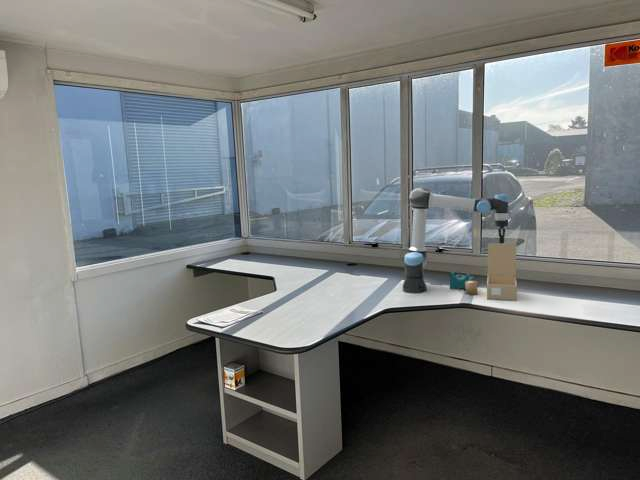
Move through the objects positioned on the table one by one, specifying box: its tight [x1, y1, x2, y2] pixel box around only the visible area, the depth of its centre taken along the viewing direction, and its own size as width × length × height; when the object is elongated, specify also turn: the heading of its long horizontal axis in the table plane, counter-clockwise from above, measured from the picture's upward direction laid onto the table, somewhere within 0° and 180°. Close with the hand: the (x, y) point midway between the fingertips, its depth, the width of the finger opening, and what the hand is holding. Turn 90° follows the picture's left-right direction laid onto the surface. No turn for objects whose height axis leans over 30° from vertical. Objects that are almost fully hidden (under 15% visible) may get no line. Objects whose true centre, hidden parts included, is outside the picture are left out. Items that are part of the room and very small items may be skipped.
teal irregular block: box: [449, 271, 474, 291], centre depth 292 cm, size 18×11×10 cm, turn 150°
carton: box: [486, 275, 518, 302], centre depth 268 cm, size 16×20×9 cm
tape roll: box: [465, 280, 479, 296], centre depth 275 cm, size 7×7×7 cm
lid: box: [487, 242, 517, 277], centre depth 276 cm, size 16×20×1 cm
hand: (501, 257), depth 280 cm, fingers closed
